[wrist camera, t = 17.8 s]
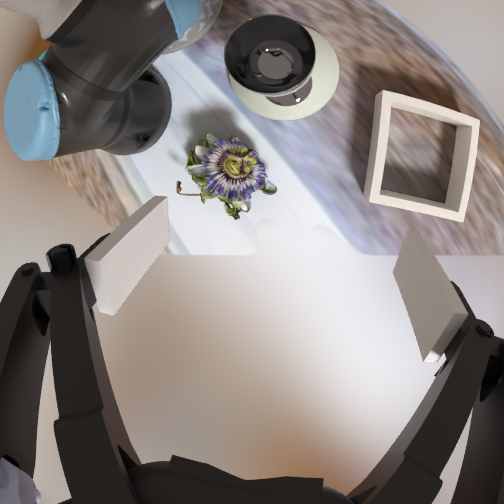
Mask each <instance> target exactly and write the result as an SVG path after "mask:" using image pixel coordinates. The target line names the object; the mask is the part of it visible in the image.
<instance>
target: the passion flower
mask: <svg viewBox="0 0 504 504" xmlns="http://www.w3.org/2000/svg"><path fill="white" fill-rule="evenodd" d="M246 146H247V145H244V144H243V143H241V141H240V139H239V138H237V137H236V138H233V139H232V137H231V139H228V140H225V139H223V140H219V139H218V138H216V137H215V136H214V135H212V134H208V135H207V142H206V141H205V140H200V141H199V146H198V145H197V146H196V147H195V154H196V156H197V159H198V160H199V164H198V165H197V164H196V163H195V160H194V157H193V153H194V152H193V151H191V152H190V156H189V160H188V163H187V167H186V168H185V170H186V171H187V172H188V173H189V174H190V175H192V180H193V181H194V182H196V184H199V185H200V186H201V187H202V189H201V194H180V193H179V192H180V191H181V190H182V188H181V187H180V184H181V182H180V181H177V193H178V194H180V195H188V196H192V195H195V196H197V195H200V196H201V201H202V203H205V199H212V198H215V197H218V198H219V200H220V201H222V202H225V204H226V205H224V206H225V211H226V213H227V214H228V215H229V216H233V217H234V219H235V220H236V219H239V218H240V216H239V215H238V213H239V212H240V211H244V212H248V211H249V210H250V208H251V205H250V204H251V202H250V198H251V195H250V194H251V193H252V192H255V191H256V190H261V191H263V193H264V194H268V195H272V194H274V193H276V191H277V187H276V186H275V185H273V184H272V183H271V182H270V181H268V180H267V178H268V177H267V174H266V173H265V169H264V164H263V163H262V162H260V160H259V159H258V153H256V152H254V151H252V149H249V148H246ZM229 204H231V205H232V206H233V208H231V207H230V206H229ZM235 208H236V212H235Z"/></svg>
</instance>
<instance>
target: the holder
mask: <svg viewBox="0 0 504 504" xmlns="http://www.w3.org/2000/svg"><path fill="white" fill-rule="evenodd" d="M391 107H393V108H397V109H401V110H405V111H409V112H413V113H416V114H420V115H423V116H427V117H430V118H434V119H437V120H440V121H443V122H446V123H449V124H452V125H455V126H457V129H456V139H455V147H454V155H453V162H452V168H451V174H450V180H449V185H448V191H447V196H446V201H445V204H444V203H440V202H436V201H432V200H428V199H423V198H419V197H415V196H410V195H406V194H401V193H396V192H392V191H387V190H382V189H381V183H382V177H383V170H384V163H385V156H386V149H387V141H388V132H389V123H390V113H391ZM479 124H480V120H477V119H475V118H472V117H470V116H467V115H465V114H462V113H459V112H457V111H454V110H451V109H448V108H445V107H442V106H439V105H436V104H433V103H430V102H427V101H423V100H420V99H416V98H413V97H409V96H405V95H402V94H398V93H394V92H390V91H385V90H382V91H381V92H379V93H378V94H376V95H375V104H374V116H373V126H372V135H371V143H370V151H369V159H368V166H367V173H366V179H365V186H364V192H363V195H364V196H365V198H366V199H367V200H368V202H371V203H377V204H382V205H387V206H392V207H397V208H402V209H407V210H411V211H416V212H421V213H425V214H429V215H434V216H438V217H442V218H447V219H451V220H455V221H459V222H463V221H464V217H465V213H466V208H467V204H468V199H469V194H470V189H471V184H472V179H473V173H474V166H475V160H476V152H477V144H478V135H479Z"/></svg>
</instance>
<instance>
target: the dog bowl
mask: <svg viewBox="0 0 504 504" xmlns="http://www.w3.org/2000/svg"><path fill="white" fill-rule="evenodd" d="M201 3H202V6H203V11H202V15H201V17H200V18H199V19H198V20H197V21H196V22H195V23H194V24H193V25H192V26H191V27H190V28H189V29H188V30H187V31H186V32H184V33H183V34H182V37H181V39H180V40H178V41H177V40H176V41H175V42H174V43H173V44H172V45H171V46H170V47H168V48H167V49H166V50H165V51H164V52H163V53H162V54H168V53H173V52H176V51H179V50H181V49H183V48H186V47H188V46H189V45H191V44H193V43H194V42H196V41H197V40H198V39H200V38H201V37H202V36H203V35H204V34H205V33H206V32H207V31H208V30H209V29H210V28H211V27H212V25H213V24H214V22H215V21H216V19H217V18H218V16H219V14H220V11H221V8H222V5H223V0H201Z"/></svg>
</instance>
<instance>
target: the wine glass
mask: <svg viewBox="0 0 504 504" xmlns="http://www.w3.org/2000/svg"><path fill="white" fill-rule="evenodd" d="M224 61H225V65H226V68H227V70H228V72H229V73H230V75H231V76H232V77H233V79H234V80H235V81H236V82H238V83H239V84H240V85H241V86H243V87H244V88H246V89H248V90H249V91H251V92H254V93H256V94H259V95H263V96H265V97H266V98H267V99H268V100H269V101H270V102H272V103H274V104H276V105H279V106H293V105H297V104H299V103H301V102H302V101H304V100H305V99H306V98H307V97H308V95H309V94H310V92H311V89H312V83H313V81H312V76H311V75H312V73H313V71H314V67H315V62H316V49H315V44H314V41H313V39H312V37H311V35H310V34H309V32H308V31H307V30H306V29H305V27H304V26H303V25H301V24H300V23H298V22H297V21H295V20H293V19H291V18H289V17H286V16H283V15H276V14H265V15H259V16H255V17H252V18H250V19H248V20H246V21H244V22H242V23H241V24H240V25H238V26H237V27H236V28H235V29H234V30H233V31H232V33H231V34H230V36H229V37H228V39H227V41H226V44H225V48H224Z"/></svg>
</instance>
